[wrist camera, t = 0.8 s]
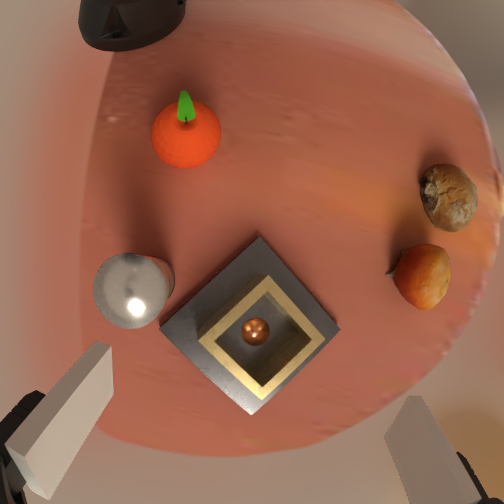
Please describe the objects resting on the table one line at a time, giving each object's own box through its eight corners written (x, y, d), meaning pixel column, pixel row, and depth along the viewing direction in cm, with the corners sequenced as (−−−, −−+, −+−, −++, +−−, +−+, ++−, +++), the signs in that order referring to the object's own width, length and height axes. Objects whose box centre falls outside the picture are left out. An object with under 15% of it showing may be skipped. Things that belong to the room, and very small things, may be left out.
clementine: (152, 115, 31) (145, 81, 24) (212, 108, 32) (219, 74, 25) (156, 181, 31) (149, 159, 24) (221, 172, 32) (230, 149, 25)
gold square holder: (159, 327, 30) (155, 338, 25) (257, 237, 33) (270, 232, 28) (249, 411, 32) (259, 432, 27) (336, 327, 34) (358, 336, 29)
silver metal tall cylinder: (123, 277, 30) (77, 287, 16) (155, 247, 30) (130, 234, 17) (153, 310, 30) (128, 345, 16) (185, 281, 31) (183, 294, 17)
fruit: (396, 224, 35) (454, 237, 29) (410, 252, 40) (459, 266, 34) (371, 281, 34) (431, 302, 28) (388, 303, 39) (438, 322, 33)
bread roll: (426, 240, 42) (471, 251, 35) (407, 197, 36) (460, 205, 30) (444, 193, 43) (486, 199, 37) (427, 147, 38) (475, 150, 31)
